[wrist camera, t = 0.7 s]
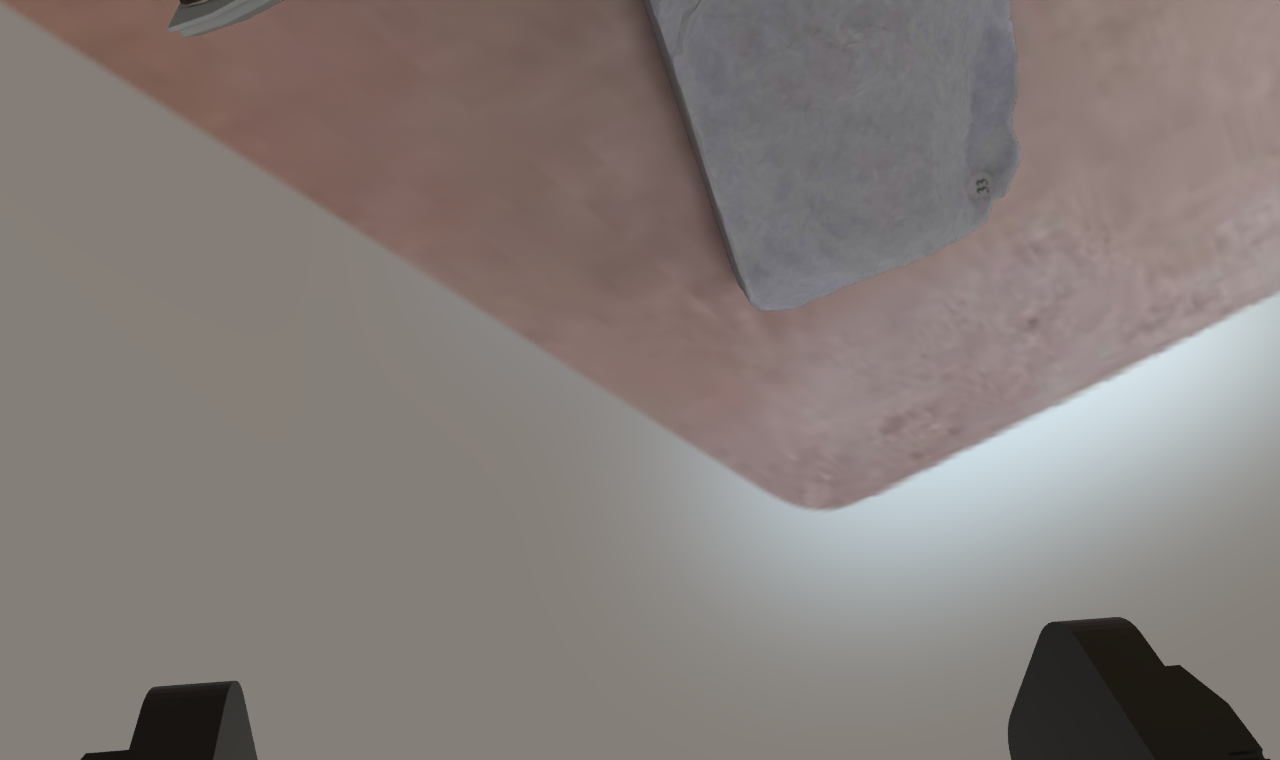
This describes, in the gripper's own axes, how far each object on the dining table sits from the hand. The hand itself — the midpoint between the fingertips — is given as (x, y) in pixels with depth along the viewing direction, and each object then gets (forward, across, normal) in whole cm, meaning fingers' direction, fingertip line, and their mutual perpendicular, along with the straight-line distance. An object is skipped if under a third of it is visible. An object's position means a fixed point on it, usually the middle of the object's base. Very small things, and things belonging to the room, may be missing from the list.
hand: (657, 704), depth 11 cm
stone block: (+24, -9, +1) cm, 26 cm away
